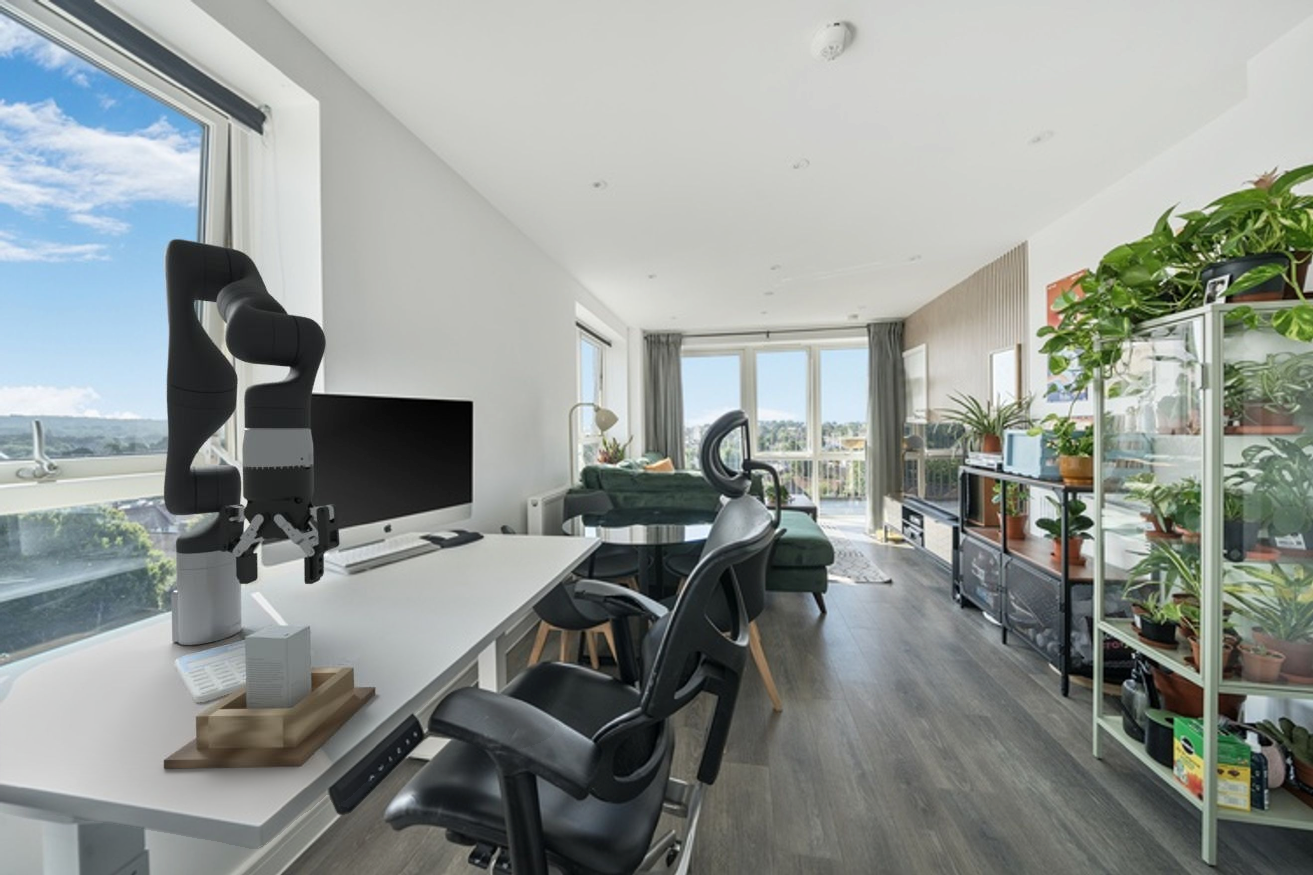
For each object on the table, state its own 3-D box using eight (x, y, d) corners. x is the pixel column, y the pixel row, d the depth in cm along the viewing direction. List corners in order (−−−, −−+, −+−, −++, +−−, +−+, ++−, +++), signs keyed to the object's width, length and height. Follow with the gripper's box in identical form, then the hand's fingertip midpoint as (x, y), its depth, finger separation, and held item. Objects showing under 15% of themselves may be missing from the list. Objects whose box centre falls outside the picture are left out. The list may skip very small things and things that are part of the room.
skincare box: (313, 710, 68) (312, 625, 68) (288, 729, 64) (286, 638, 63) (272, 708, 68) (270, 624, 68) (244, 727, 64) (242, 636, 64)
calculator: (196, 708, 71) (195, 695, 71) (173, 667, 83) (173, 656, 83) (304, 672, 81) (304, 661, 81) (269, 641, 94) (269, 631, 94)
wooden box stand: (163, 768, 58) (163, 726, 58) (268, 694, 74) (268, 662, 74) (300, 765, 58) (300, 724, 58) (375, 693, 74) (375, 660, 74)
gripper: (199, 464, 61) (201, 592, 62) (314, 464, 62) (315, 591, 62) (248, 460, 69) (249, 574, 69) (350, 460, 69) (351, 573, 69)
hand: (280, 582), depth 66 cm, fingers open, 8 cm apart
